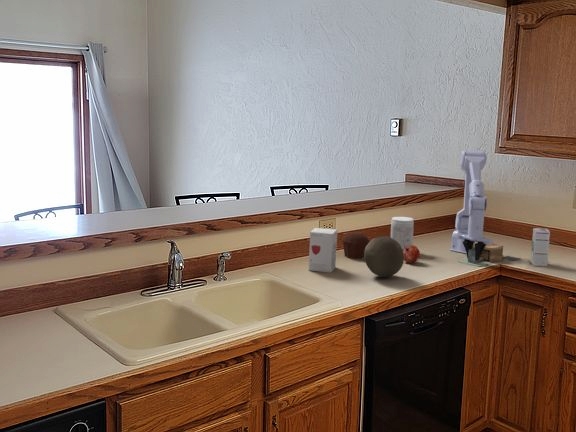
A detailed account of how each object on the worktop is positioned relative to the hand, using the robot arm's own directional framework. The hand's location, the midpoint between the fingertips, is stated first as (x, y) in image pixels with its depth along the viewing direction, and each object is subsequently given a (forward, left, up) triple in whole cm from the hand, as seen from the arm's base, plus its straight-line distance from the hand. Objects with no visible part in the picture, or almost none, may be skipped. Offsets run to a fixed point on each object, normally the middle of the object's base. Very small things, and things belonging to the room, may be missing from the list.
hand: (473, 259), depth 251 cm
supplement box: (-31, -56, -2) cm, 64 cm away
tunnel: (0, +11, -2) cm, 11 cm away
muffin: (-37, -30, -2) cm, 48 cm away
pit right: (+6, +20, -2) cm, 21 cm away
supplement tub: (-30, -8, -2) cm, 31 cm away
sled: (0, +7, -1) cm, 7 cm away
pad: (0, +1, -2) cm, 2 cm away
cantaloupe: (-9, -47, -2) cm, 48 cm away
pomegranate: (-16, -20, -2) cm, 26 cm away
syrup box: (+18, +20, -2) cm, 27 cm away
